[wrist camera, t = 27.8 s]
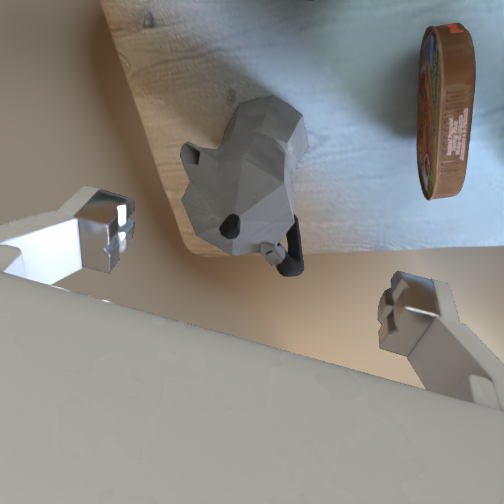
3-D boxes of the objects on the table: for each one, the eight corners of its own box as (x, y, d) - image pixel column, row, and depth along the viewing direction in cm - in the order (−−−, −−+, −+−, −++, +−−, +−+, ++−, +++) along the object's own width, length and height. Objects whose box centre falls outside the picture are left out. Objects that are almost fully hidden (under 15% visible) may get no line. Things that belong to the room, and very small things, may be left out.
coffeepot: (196, 112, 45) (126, 196, 32) (264, 57, 41) (217, 128, 27) (279, 215, 51) (251, 324, 38) (347, 178, 47) (344, 286, 33)
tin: (420, 18, 36) (435, 39, 30) (460, 11, 36) (484, 31, 29) (414, 174, 45) (425, 217, 39) (446, 172, 44) (462, 215, 38)
